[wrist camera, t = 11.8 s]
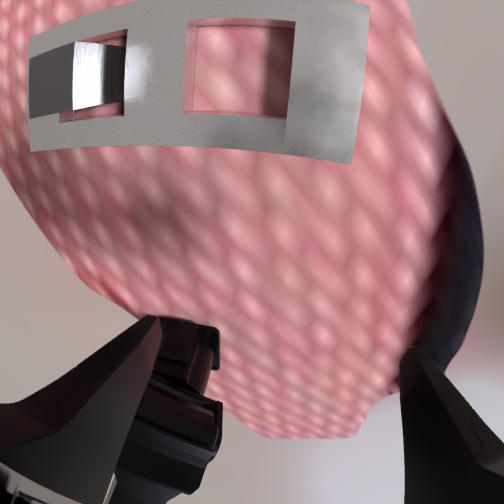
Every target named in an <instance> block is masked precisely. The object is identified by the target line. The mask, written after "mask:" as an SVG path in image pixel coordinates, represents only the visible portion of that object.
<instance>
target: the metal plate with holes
mask: <svg viewBox="0 0 504 504" xmlns="http://www.w3.org/2000/svg"><path fill="white" fill-rule="evenodd" d="M369 9H370V6H368V5H364V4H360V3H356V2H352V1H347V0H139V1H134V2H130V3H126V4H122V5H118V6H114V7H111V8H107V9H104V10H100V11H97V12H94V13H91V14H88V15H85V16H82V17H79V18H76V19H74V20H71V21H68V22H66V23H63V24H61V25H58V26H56V27H54V28H51V29H49V30H47V31H45V32H42V33H40V34H38V35H36V36H34V37H32V38H30V39H29V50H28V64H27V116H28V132H29V143H30V152H36V151H45V150H55V149H66V148H80V147H97V146H129V145H161V146H194V147H213V148H227V149H240V150H251V151H261V152H270V153H279V154H287V155H294V156H302V157H309V158H315V159H322V160H328V161H334V162H339V163H345V164H351V162H352V157H353V151H354V145H355V139H356V133H357V127H358V120H359V113H360V106H361V99H362V91H363V83H364V74H365V64H366V54H367V42H368V28H369ZM215 25H249V26H269V27H282V28H292V29H295V37H294V48H293V59H292V69H291V80H290V90H289V100H288V110H287V117H279V116H270V115H259V114H247V113H231V112H207V111H193V98H194V79H195V63H196V49H197V37H198V26H215ZM126 35H127V45H126V60H125V84H124V114H112V115H102V116H93V117H85V118H77V119H76V115H75V110H72V111H66V112H61V113H56V114H51V115H46V116H41V117H37V118H33V119H29V59H30V58H32V57H35V56H37V55H39V54H42V53H44V52H47V51H49V50H52V49H55V48H57V47H60V46H63V45H66V44H69V43H72V42H88V43H96V42H100V41H104V40H108V39H112V38H117V37H121V36H126Z"/></svg>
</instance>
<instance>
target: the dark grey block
mask: <svg viewBox="0 0 504 504" xmlns="http://www.w3.org/2000/svg"><path fill="white" fill-rule="evenodd" d="M125 60H126V47H121V46H114V45H107V44H98V43H88V42H72V43H69V44H66V45H63V46H60V47H57V48H55V49H52V50H49V51H47V52H44V53H42V54H39V55H37V56H35V57H32V58H30V59H29V119H33V118H37V117H41V116H46V115H51V114H56V113H61V112H66V111H72V110H77V109H81V108H86V107H91V106H96V105H101V104H107V103H112V102H119V101H124V84H125Z"/></svg>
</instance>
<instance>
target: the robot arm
mask: <svg viewBox="0 0 504 504" xmlns="http://www.w3.org/2000/svg"><path fill="white" fill-rule="evenodd" d="M214 333H215V334H214ZM219 368H220V332H219V330H217V329H215V328H209V327H203V326H198V325H192V324H187V323H182V322H177V321H172V320H167V319H162V318H159V317H157V316H154V315H146V316H144V317H143V318H142V319H140V320H139V321H137V322H136V323H135V324H133V325H132V326H130V327H129V328H128V329H126V330H125V331H124V332H122V333H121V334H120V335H118V336H117V337H115V338H114V339H113V340H111V341H110V342H108V343H107V344H106V345H104V346H103V347H102V348H100V349H99V350H97V351H96V352H95V353H93V354H92V355H91V356H89V357H88V358H86V359H85V360H84V361H82V362H81V363H80V364H78V365H77V367H74V368H73V369H71V370H70V371H69V372H67V373H66V374H65V375H63V376H61V377H60V378H59V379H57V380H55V381H54V382H52V383H51V384H49V385H47V386H46V387H44V388H42V389H41V390H39V391H37V392H35V393H34V394H32V395H30V396H28V397H27V398H25V399H23V400H21V401H18V402H15V403H9V404H0V504H79V503H81V504H103V502H104V499H105V496H106V493H107V490H108V487H109V484H110V481H111V478H112V476H113V473H114V474H115V477H114V480H113V482H112V485H111V488H110V490H109V493H108V495H107V498H106V500H105V503H104V504H166V502H167V501H169V500H170V499H172V498H174V497H176V496H177V495H179V494H181V493H184V494H188V495H191V494H192V493H193V492H195V491H196V490H197V489H198V488H199V486H200V483H201V481H202V477H203V474H204V471H205V469H206V466H207V464H208V463H209V462H211V461H212V460H213V458H214V457H215V455H216V454H217V452H218V450H219V447H220V444H221V439H222V417H223V403H222V402H220V401H215V400H212V399H210V398H207V397H205V396H204V393H205V390H206V386H207V382H208V379H209V375H210V372H211V370H219ZM399 372H400V404H401V416H402V427H403V439H404V440H403V442H404V462H405V464H404V465H405V496H404V504H504V443H503V442H502V441H501V440H500V439H499V438H498V437H497V436H496V435H495V433H494V432H493V431H492V430H491V429H490V428H489V427H488V426H487V425H486V424H485V423H484V422H483V420H482V419H481V418H480V417H479V415H478V414H477V413H476V412H475V410H474V409H472V407H471V406H470V404H469V403H468V402H467V401H466V400H465V398H464V397H463V396H462V395H461V393H460V392H459V391H458V390H457V389H456V387H454V385H453V384H452V383H451V382H450V381H449V379H448V378H447V377H446V376H445V375H444V373H443V372H442V371H441V370H440V369H439V368H438V367H437V365H436V364H435V363H434V362H433V361H432V360H431V359H430V358H429V356H428V355H427V354H426V353H425V352H424V351H423V350H422V349H421V348H420V347H415V346H411V347H409V348H408V349H407V351H406V353H405V354H404V356H403V357H402V359H401V361H400V364H399Z"/></svg>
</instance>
